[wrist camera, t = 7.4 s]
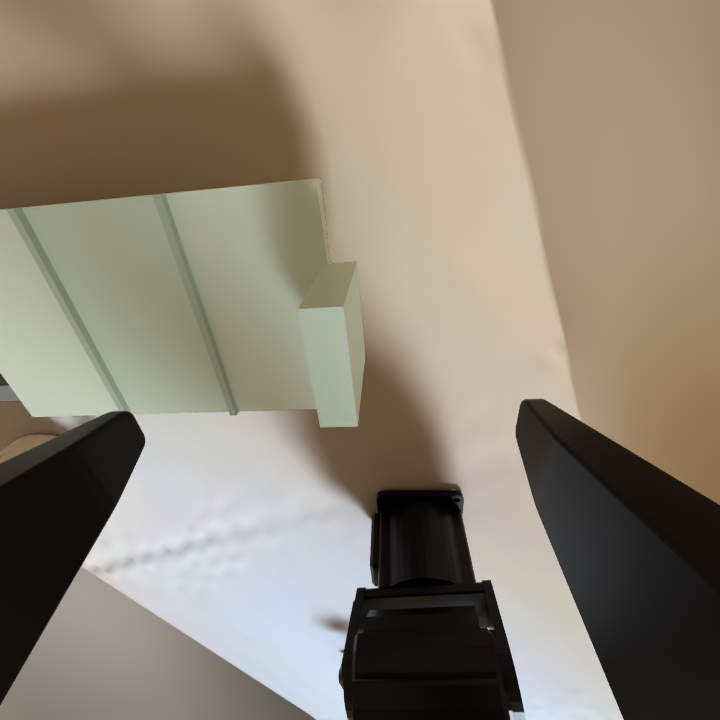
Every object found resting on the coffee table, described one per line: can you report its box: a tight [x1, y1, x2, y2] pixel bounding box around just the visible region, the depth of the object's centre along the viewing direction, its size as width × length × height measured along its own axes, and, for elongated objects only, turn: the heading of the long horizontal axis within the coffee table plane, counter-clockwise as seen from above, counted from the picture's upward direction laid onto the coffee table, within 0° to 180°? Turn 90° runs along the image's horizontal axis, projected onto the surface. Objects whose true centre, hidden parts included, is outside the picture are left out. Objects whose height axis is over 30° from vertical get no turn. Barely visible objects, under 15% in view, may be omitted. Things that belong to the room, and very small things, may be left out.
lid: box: [0, 178, 365, 427], centre depth 13 cm, size 18×10×5 cm, turn 95°
